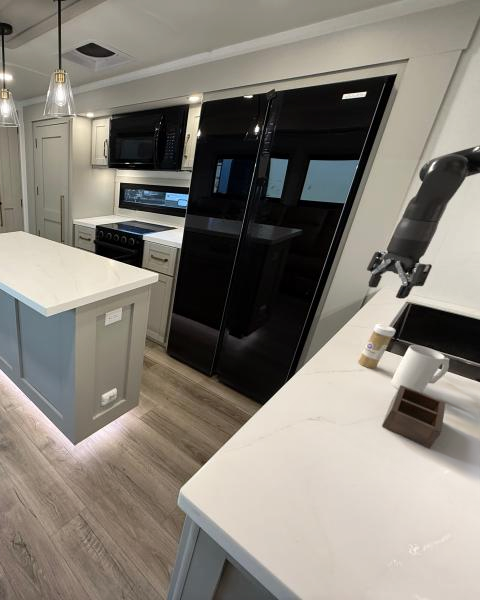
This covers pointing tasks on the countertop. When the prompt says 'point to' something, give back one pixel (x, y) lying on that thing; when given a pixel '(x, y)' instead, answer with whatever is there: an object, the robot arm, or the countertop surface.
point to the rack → (415, 416)
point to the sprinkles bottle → (376, 345)
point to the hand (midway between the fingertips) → (385, 292)
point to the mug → (419, 368)
